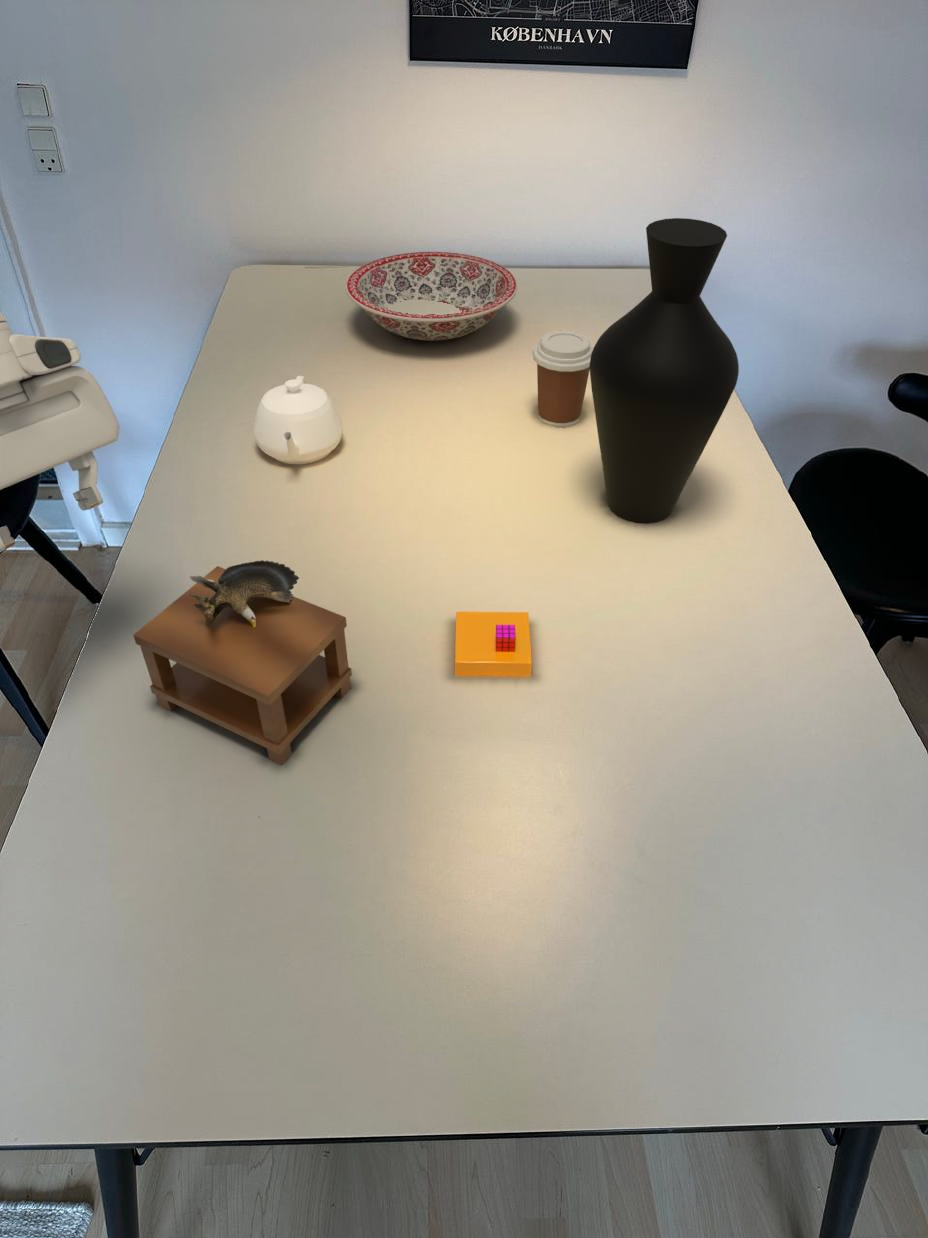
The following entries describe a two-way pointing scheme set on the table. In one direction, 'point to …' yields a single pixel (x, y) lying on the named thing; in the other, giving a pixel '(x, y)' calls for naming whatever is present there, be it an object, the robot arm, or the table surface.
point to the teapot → (297, 423)
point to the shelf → (248, 665)
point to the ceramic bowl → (432, 292)
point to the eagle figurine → (245, 588)
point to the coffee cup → (562, 376)
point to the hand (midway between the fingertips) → (50, 527)
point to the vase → (662, 376)
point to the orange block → (493, 644)
